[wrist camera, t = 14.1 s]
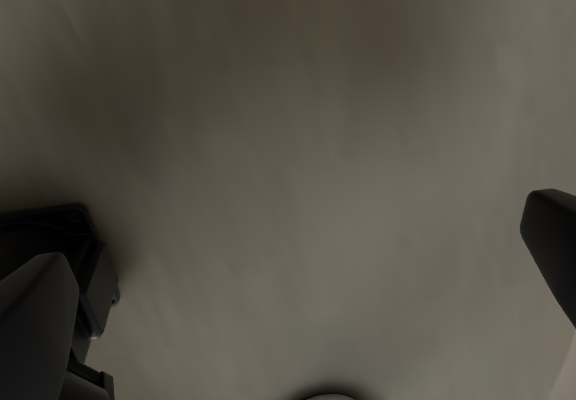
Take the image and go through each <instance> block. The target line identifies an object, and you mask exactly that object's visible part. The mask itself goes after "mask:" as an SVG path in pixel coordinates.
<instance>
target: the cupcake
mask: <svg viewBox="0 0 576 400" xmlns="http://www.w3.org/2000/svg"><path fill="white" fill-rule="evenodd" d="M307 400H354V399H352V398H350V397H347V396H344V395H339V394H328V395H320V396H315V397H312V398H310V399H307Z"/></svg>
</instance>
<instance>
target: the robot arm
mask: <svg viewBox="0 0 576 400" xmlns="http://www.w3.org/2000/svg"><path fill="white" fill-rule="evenodd" d="M72 212H77V213H79V214H80V215H81V216H80V217H79V216H75V215H74V214H73V213H72ZM520 233H521V236H522V238H523V240H524V242H525V244H526V246H527V248H528V249H529V251H530V253H531V255H532V257H533V259H534V260H535V262H536V264H537V266H538V268H539V270H540V272H541V273H542V275H543V277H544V279H545V281H546V283H547V284H548V286H549V288H550V290H551V292H552V293H553V295H554V297H555V298H556V300H557V302H558V303H559V305H560V306H561V308H562V309H563V311H564V312H565V314H566V315H567V317H568V318H569V320H570V321H571V322H572V324H573V325H574V327H575V328H576V196H574V195H571V194H568V193H565V192H562V191H559V190H556V189H543V190H536V191H532V192H531V193H529V195H528V196H527V199H526V203H525V207H524V211H523V215H522V219H521V223H520ZM117 282H118V275H117V273H116V270H115V267H114V265H113V262H112V259H111V257H110V254H109V251H108V249H107V246H106V243H105V242H104V241H102V240H101V239H99V238H98V235H97V232H96V230H95V227H94V225H93V222H92V219H91V217H90V214H89V211H88V210H87V208H86V207H85V206H84V205H82V204H78V203H74V204H67V205H60V206H53V207H46V208H38V209H31V210H24V211H17V212H10V213H3V214H0V400H115V398H114V385H113V377H112V376H111V375H109V374H107V373H105V372H103V371H101V372H100V373H99V372H98V371H96V370H94V369H92V368H90V367H88V366H86V365H84V362H85V359H86V356H87V352H88V349H89V346H90V343H91V339H96V338H100V336H101V335H102V334H103V332H104V328H105V325H106V321H107V318H108V314H109V311H110V307H114V306H116V305H117V304H118V303H119V299H120V293H119V290H118V287H117Z"/></svg>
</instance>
